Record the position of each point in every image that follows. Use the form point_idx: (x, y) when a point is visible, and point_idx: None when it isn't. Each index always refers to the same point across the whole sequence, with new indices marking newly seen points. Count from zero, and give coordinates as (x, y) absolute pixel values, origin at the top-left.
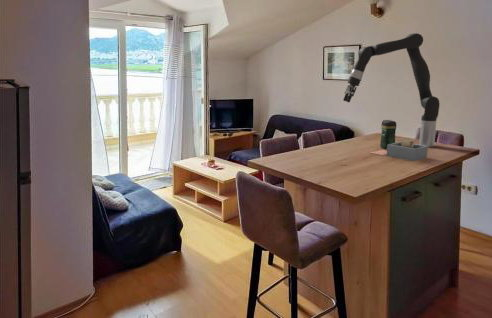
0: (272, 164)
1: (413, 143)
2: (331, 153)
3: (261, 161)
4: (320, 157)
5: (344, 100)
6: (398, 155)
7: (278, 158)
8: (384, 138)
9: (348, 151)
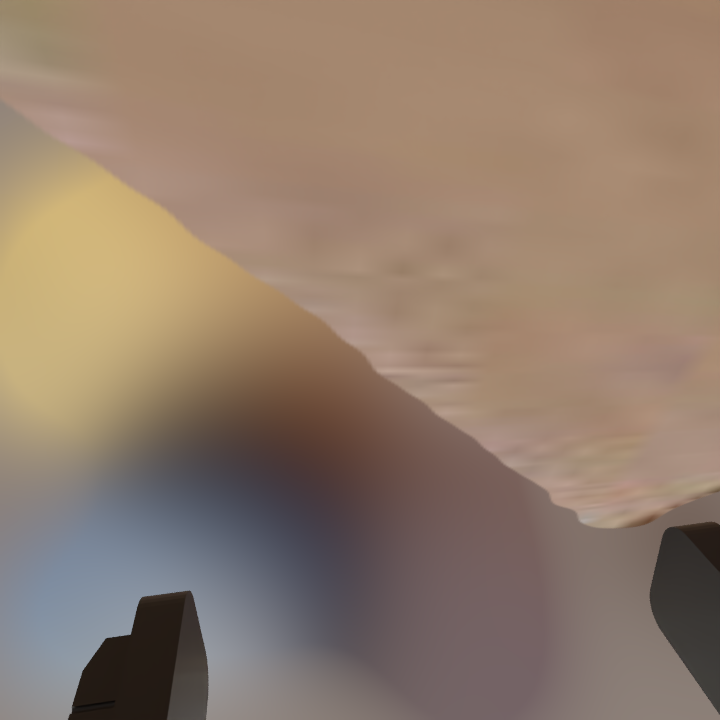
0: (703, 472)
1: None
2: (580, 202)
3: (628, 506)
4: (674, 288)
5: (201, 651)
6: None
7: (599, 464)
8: None
9: (547, 15)
